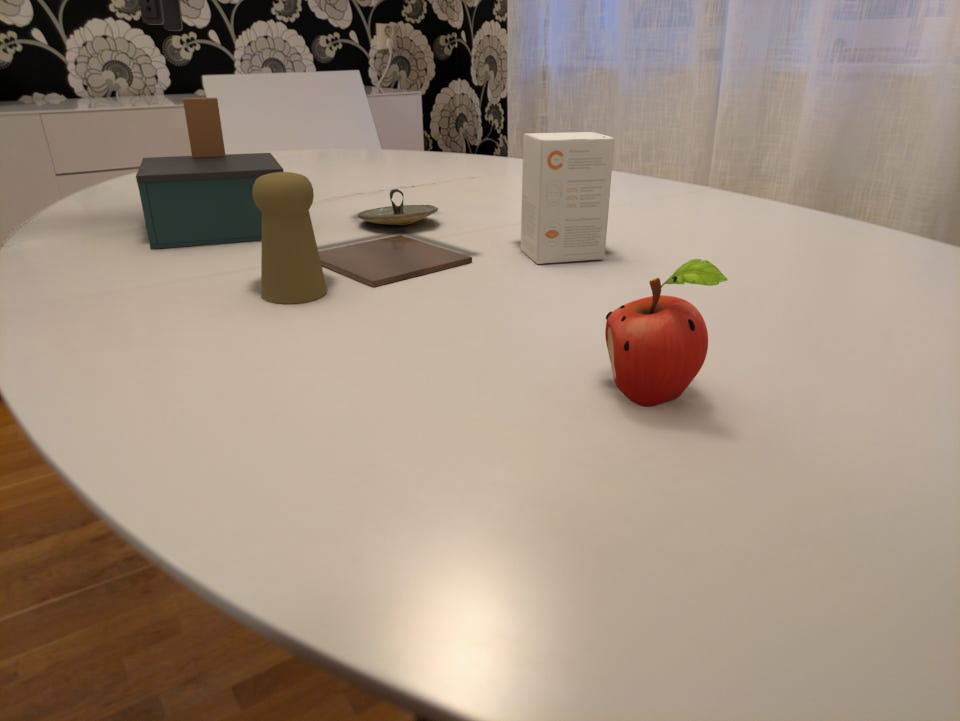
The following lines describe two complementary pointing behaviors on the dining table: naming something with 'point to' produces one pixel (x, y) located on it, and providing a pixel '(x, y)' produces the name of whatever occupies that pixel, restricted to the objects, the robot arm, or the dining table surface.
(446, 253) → the board
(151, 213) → the bin
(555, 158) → the small box
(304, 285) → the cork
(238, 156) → the bin lid
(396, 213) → the lid
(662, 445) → the dining table surface
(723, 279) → the apple
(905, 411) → the dining table surface
